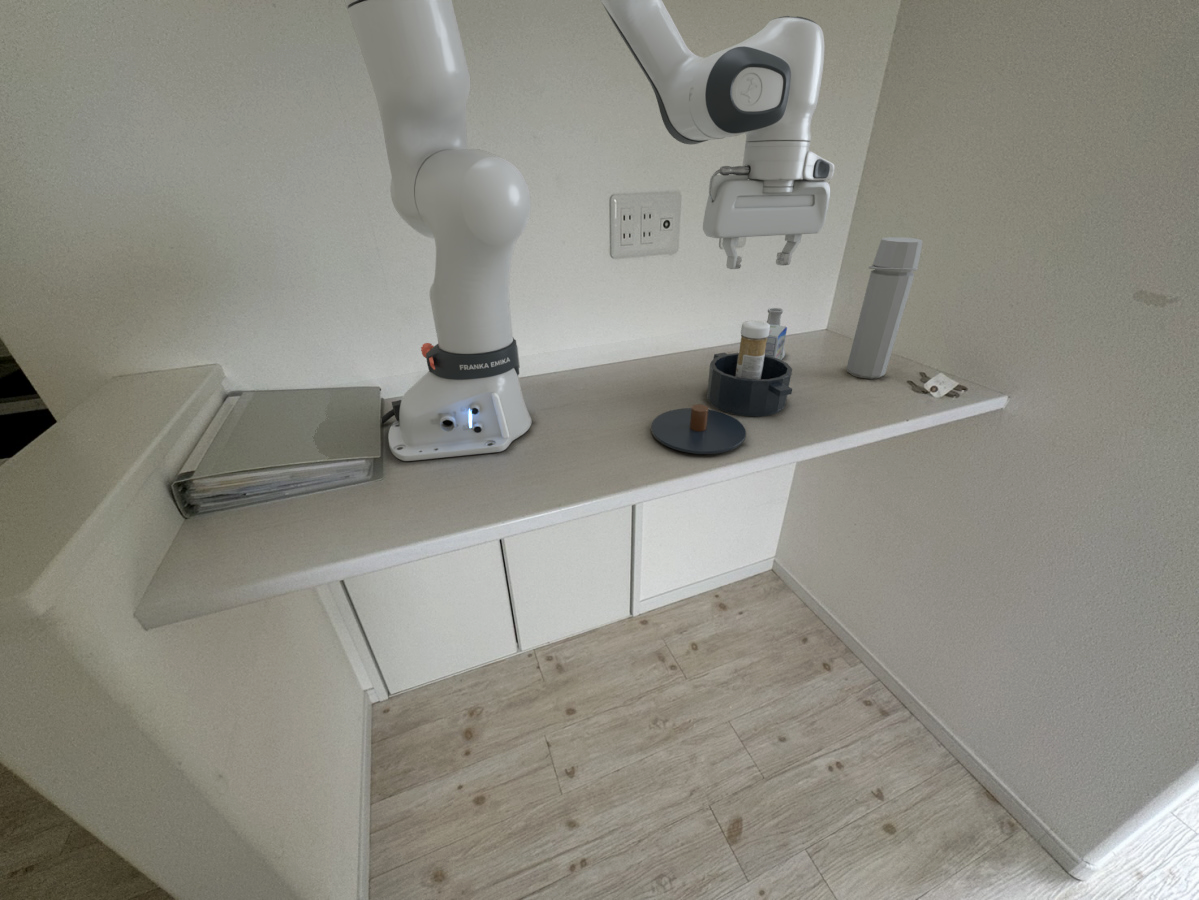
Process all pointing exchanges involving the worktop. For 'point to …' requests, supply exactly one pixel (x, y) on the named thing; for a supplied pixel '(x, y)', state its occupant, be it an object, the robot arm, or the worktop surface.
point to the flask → (775, 319)
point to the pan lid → (698, 430)
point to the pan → (748, 387)
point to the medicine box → (776, 341)
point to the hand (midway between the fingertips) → (758, 266)
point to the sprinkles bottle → (752, 349)
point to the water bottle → (883, 306)
